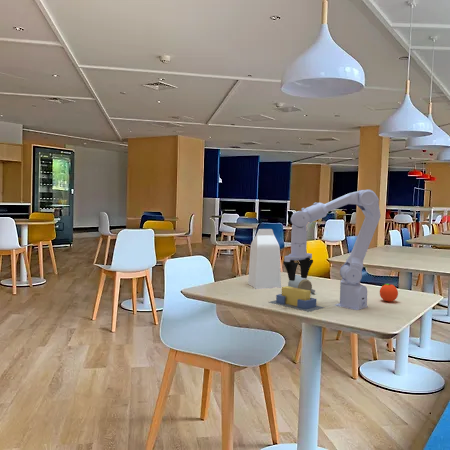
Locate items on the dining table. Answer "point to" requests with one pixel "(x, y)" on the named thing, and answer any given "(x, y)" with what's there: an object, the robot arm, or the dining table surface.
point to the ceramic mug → (301, 283)
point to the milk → (264, 261)
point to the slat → (295, 295)
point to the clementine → (388, 292)
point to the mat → (296, 306)
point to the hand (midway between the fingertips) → (297, 279)
